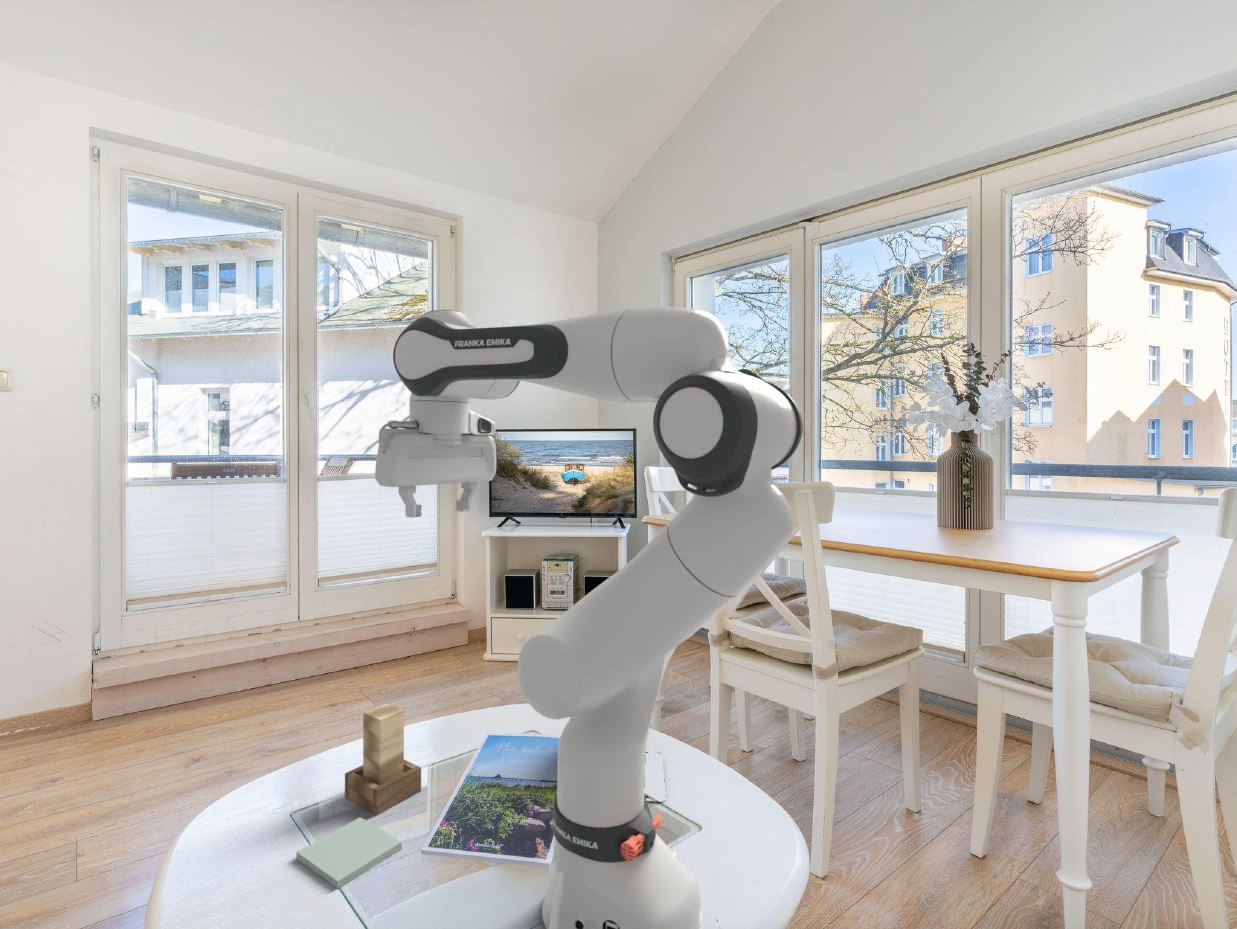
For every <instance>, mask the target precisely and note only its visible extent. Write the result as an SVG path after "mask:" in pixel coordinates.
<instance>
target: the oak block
mask: <svg viewBox="0 0 1237 929" xmlns="http://www.w3.org/2000/svg"><path fill="white" fill-rule="evenodd" d="M362 721H363V722H362V723H363V729H362V730H363V734H362V735H363V736H362V737H363V739H362V740H363V741H362V745H363V746H362V747H363V748H362V750H363V751H362V755H363V757H362V758H363V759H362V765H363V778H365V779H367V780H369V781H371V782H373V783H374V784H376V785H378V786H379V785H381V784H383V783H385V782H387V781H389V780H391V779H393V778H395V777H396V776H398V775H400V774H402V773H404V760H405V759H404V756H405V753H404V752H405V751H404V750H405V748H404V747H405V745H404V744H405V739H404V738H405V729H404V728H405V710H404V709H402V708H400V707H397V706H394V705H392V704H389V703H384V704H382V705H379V706H377V707H375V708H372V709H370V710H367V711H364V712H363V719H362Z"/></svg>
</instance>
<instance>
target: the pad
mask: <svg viewBox="0 0 1237 929" xmlns="http://www.w3.org/2000/svg"><path fill="white" fill-rule="evenodd" d="M402 848H403V842H402V840H400V839H398V838H396V837H394V836H393V835H391V834H390V833H388V832H386V831H385V830H382V829H381V828H379V827H377V826H376V825H374V824H372V823H371V822H369V821H367V820H366V819H364V818H362V817H361V816H360V817H358V818H356V819H354V820H353V821H351V822H349V823H347V824H346V825H343V826H342V827H339V828H337V830H334V831H332V832H330V833H329V834H327V835H325V836H323V837H321V838H320V839H318V840H315V841H314V842H312V843H310V844H309V845H306V846H305V847H303V848H301V849H299V850H297V851H296V860H298V861H299V862H300V863H301V864H303V865H304V866H306V867H308V869H310V870H312V871H313V872H314V873H316V874H317V875H318V876H320V877H321V878H322V879H324V880H325V881H327V882H328V883H329V884H331V885H332V886H334V887H335V888H336V889H340V888H341V887H343V886H345V885H346V884H347V883H350V882H351V881H353V880H354V879H355V878H357V877H359V876H361V875H362V874H364V873H365V872H367V871H368V870H370V869H372V868H373V867H375V866H376V865H378V864H380V863H382V861H384V860H387V858H389V857H391V856H392V855H394V854H395V853H397V852H399V851H400V850H402Z"/></svg>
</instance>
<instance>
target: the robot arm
mask: <svg viewBox="0 0 1237 929" xmlns="http://www.w3.org/2000/svg"><path fill="white" fill-rule="evenodd" d="M392 352H393V353H392V361H393V366H394V369H395V372H396V373H397V375H398V377H399V379H400V381H401V382H402V383H403V384H404V387H406V388H407V390H408V391H409V392H410V396H409V410H408V411H409V420H402V421H401V420H400V421H398V420H395V419H394V420H389V421H387V422H386V423H385V424H384V425H382V427H381V428H380V429H379V431H378V449H377V453H376V454H377V455H376V461H375V471H374V478H375V481H377V483H378V485H379V486H381V487H388V488H398V495H399V497H400V498H401V500H402V503H403V504H404V505H405V510H404V511H405V516H406V518H411V519H412V518H413V519H414V518H420V517H422V509H423V508H422V504H418V503H417V501H416V499H415V496H414V494H416V493H417V486H429V485H430V486H431V485H433V486H434V485H446V484H448V485H449V484H460V485H461V486H460V488H461V489H463V490H462V493H461V496H460V498H459V499H456V500H455V505H456V506H455V509H456V511H457V512H460V513H464V512H470V511H471V510H472V509H471V505H472V503H471V502H472V499H473V497H474V495H475V493H476V492H477V491H478V490H477V489H478V483H480V482H490V481H492V480H493V479H494V478H495V476H496V472H497V447H496V446H497V445H496V441H495V439H494V438H493V437H492V436H493V435H495V434H496V422H494V421H493V420H490V419H489V418H487V417H484V416H482V415H480V414H479V413H478V412H475V411H474V410H472V408H471V403H472V402H471V399H477V400H489V401H490V400H491V401H492V400H499V399H504V398H507V397H508V396H510V395H511V394H512V393H514V391H516V389H517V388H518V386H519V384H520V382H526V383H530V384H531V383H532V384H536V385H540V386H544V387H550V388H552V389H557V390H560V391H565V392H569V393H573V394H577V395H580V396H584V397H588V398H592V399H597V400H602V401H603V400H604V401H610V402H619V403H656V405H655V407H654V411H653V418H652V427H653V428H652V429H653V433H654V437H655V441H656V444H657V446H658V448H659V451H660V452H661V453H662V456H663V457H664V459H665V460H666V462H667V463H668V464H669V466H670V467H671V468H673V471H674V473H675V476H676V477H677V480H678V482H679V484H680V485H681V487H682V488H683V489H684V490H685V491H687V492H689V493H691V494H694V495H693V496H692V498H691V499H690V501H689V502H688V503H687V504H686V505H685V506H684V507H683V509H681V510H680V511H679V512H678V513H677V514H676V515H675V516H673V518H672V519H671V520H670V521H668V523H667V524H666V525H665V526H664V527H663V528H662V529H661V530H660V531H659V532H658V533H657V534H656V535H655V536H654V537H653V538H652V539H651V540H650V541H649V542H648V543H647V544H646V545H645V546H644V547H643V548H642V549H641V550H640V551H639V552H638V553H637V554H636V555H635V556H634V557H632V559H631V560H629V562H627V564H625V565H624V566H623V567H622V568H620V569H618V571H616V572H614V574H612V575H611V576H609V577H608V578H606V579H605V580H604V581H603V582H602V583H600V584H598V585H597V586H596V587H595V588H593V589H592V590H591V591H590V592H588V593H587V594H586V595H585V596H583V597H582V598H581V599H579V600H578V601H577V602H575V603H574V604H573V605H572V606H571V607H569V608H568V609H567V610H566V611H565V612H564V613H562V614H561V615H560V616H559V617H558V618H557V619H555V620H554V621H552V622H551V623H549V624H548V625H547V626H546V627H544V628H542V629H541V630H540V631H538V632H537V633H536V634H534V635H533V636H532V637H531V638H529V639H528V640H526V642H525V643H524V645H523V646H522V647H521V650H520V651H519V654H518V660H517V667H516V668H517V670H516V672H517V673H516V674H517V681H518V684H519V689H520V690H521V692H522V695H523V697H524V699H525V701H526V702H527V703H528V704H529V706H531V708H532V709H533V710H534V711H536V712H537V713H538V714H540V715H541V716H543V717H545V718H546V719H549V720H550V719H551V720H561V719H567V718H569V720H568V721H567V722H566V725H565V726H564V728H563V729H562V732H561V734H560V737H559V740H558V744H557V775H556V776H557V779H556V780H557V781H556V782H557V783H556V784H557V785H556V796H555V797H554V801H553V808H552V809H553V810H552V835H553V836H554V847H553V848H554V850H553V857H552V863H551V870H550V876H549V879H548V880H549V881H548V884H547V889H546V892H545V895H544V897H543V902H542V905H541V918H542V922H543V925H544V927H545V929H701V925H702V908H701V905H702V902H701V901H702V900H701V894H700V893H701V892H700V889H699V885H698V882H697V879H696V877H695V876H694V875H693V874H692V872H691V871H690V870H689V869H688V868H687V866H686V865H684V864H683V862H682V861H681V860H680V857H679V856H678V854H677V853H676V852H675V851H673V850H671V848H669V847H668V845H667V844H666V843H665V841H664V840H663V839H661V837H660V836H659V835H658V834H657V829H658V827H660V826H661V824H662V823H663V819H662V818H663V813H662V812H661V813H659V814H658V815H657V816H656V817H655V818H654V819H653V815H652V813H651V810H650V807H649V803H648V802H647V801H646V798H645V796H644V788H645V763H646V752H647V748H648V747H647V746H648V739H649V734H650V733H649V732H650V727H651V724H652V720H653V717H654V716H653V715H654V711H655V708H656V703H657V699H658V696H659V691H660V688H661V684H662V680H663V677H664V674H665V671H666V669H667V666H668V664H669V662H670V660H671V658H672V656H673V655H674V653H675V651H676V649H677V647H678V646H679V645H680V644H682V643H684V642H685V641H686V640H688V639H689V638H691V637H692V636H693V635H694V634H695V633H696V632H698V630H700V629H701V628H702V627H703V626H705V624H707V623H708V622H710V621H711V619H712V618H714V617H715V616H716V615H717V614H718V613H720V612H721V611H722V610H724V608H725V607H726V606H728V605H729V604H730V603H732V602H733V600H734V599H736V598H737V597H738V596H739V595H741V593H743V592H744V591H745V590H746V589H747V588H748V587H749V586H751V584H752V583H753V582H754V581H755V580H757V578H758V577H759V576H761V574H762V573H763V572H764V571H765V570H766V568H768V566H769V565H770V564H771V563H772V561H773V560H775V558H776V557H777V555H778V554H779V552H781V550H783V548H784V546H785V545H786V544H787V542H788V541H789V539H790V537H791V535H792V533H793V530H794V514H793V511H792V508H791V506H790V504H789V502H788V500H787V498H786V496H785V495H784V494H783V492H782V491H781V490H780V488H778V487H777V486H776V485H775V482H774V480H773V475H772V474H773V473H772V471H773V470H775V469H777V468H779V467H781V466H782V465H783V464H785V463H786V462H787V461H788V460H790V458H791V457H792V456H793V455H794V454H795V452H796V451H797V449H798V447H799V446H800V443H801V441H802V436H803V428H804V427H803V425H804V422H803V418H802V414H801V411H800V409H799V407H798V405H797V403H796V402H795V401H794V399H793V398H792V397H791V396H790V395H789V393H787V392H786V391H784V390H783V389H782V388H781V387H779V386H778V385H776V384H774V383H772V381H769V380H767V379H765V378H763V377H761V376H759V375H758V374H757V373H755V372H753V371H751V370H749V369H747V368H741V369H735V367H733V366H732V363H731V362H730V361H731V360H730V345H729V340H728V336H727V333H726V330H725V329H724V326H723V325H722V323H721V321H719V320H718V319H717V318H716V317H715V316H714V315H713V314H712V313H709V312H707V311H705V310H701V309H695V308H687V307H675V306H647V307H634V308H633V307H631V308H626V309H617V310H611V311H604V312H600V313H599V312H598V313H594V314H589V315H588V314H587V315H583V316H579V317H572V318H566V319H565V318H564V319H561V320H560V319H559V320H554V321H553V320H552V321H546V322H542V323H536V324H529V325H527V324H525V325H515V326H514V325H513V326H495V327H481V326H479V325H477V324H475V323H474V322H472V321H471V320H470V319H469V318H468V316H467V315H465V314H464V313H463V312H460V311H457V310H452V309H440V310H439V309H438V310H437V309H436V310H429V311H427V312H426V311H425V312H424V313H422V314H420V315H419V316H417V317H416V319H415V320H413V321H412V322H411V323H410V324H409V325H408V326H406V327H405V328H404V329H403V331H402V332H401V333H400V334H399V336H398V338H397V339H396V341H395V344H394V347H393V351H392ZM387 427H388V428H387ZM689 485H691V486H693V487H695V488H693V487H690V486H689Z"/></svg>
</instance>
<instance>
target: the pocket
mask: <svg viewBox="0 0 1237 929" xmlns="http://www.w3.org/2000/svg"><path fill="white" fill-rule="evenodd" d="M421 791H422V767H421V766H419V765H418V764H417V765H416V764H415V763H413V762H411V761H408V760H406V759H404V773H402V774H400V775H398V776H396V777H395V778H393V779H391V780H389V781H387V782H385V783H383V784H381V785H379V786H378V785H376V784H374V783H373V782H371V781H369V780H367V779H365V778H363V764H362V765H360V766H357V767H356V768H353V769H351V770H349V771H347V772H345V773H344V798H346V799H347V800H349V801H351V802H353V803H355V804H356V805H358V806H359V807H361V808H363V809H365V810H367V812H370V813H372V814H373V815H375V816H378V815H380V814H382V813H384V812H385V811H387V810H390V809H391V808H393V807H394V806H396V805H398V804H401V803H402V802H403V801H406V800H407V799H409V798H411V797H412V796H414V795H416V794H418V793H419V792H420V793H421Z"/></svg>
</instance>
